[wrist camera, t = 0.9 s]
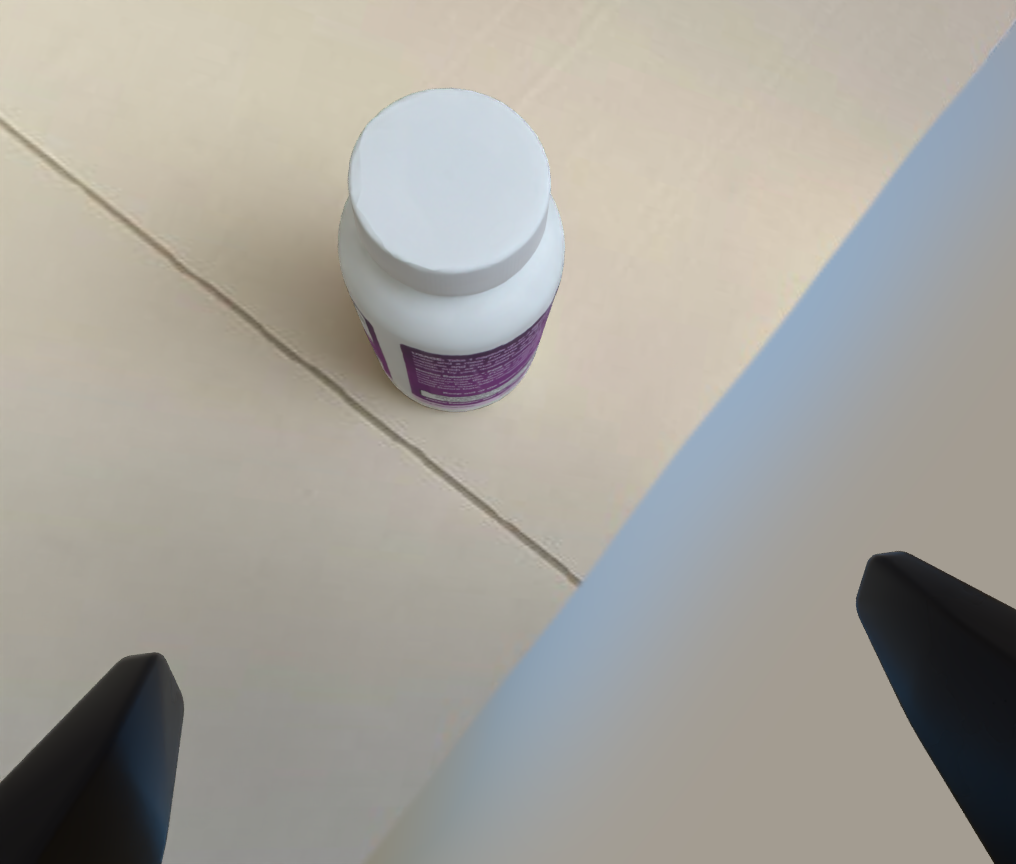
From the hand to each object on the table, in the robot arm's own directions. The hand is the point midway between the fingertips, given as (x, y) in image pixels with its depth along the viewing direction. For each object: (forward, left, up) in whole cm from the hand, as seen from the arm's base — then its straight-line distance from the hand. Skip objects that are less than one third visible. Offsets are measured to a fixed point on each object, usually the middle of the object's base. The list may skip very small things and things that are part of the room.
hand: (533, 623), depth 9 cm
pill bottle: (+8, 0, -13) cm, 15 cm away
